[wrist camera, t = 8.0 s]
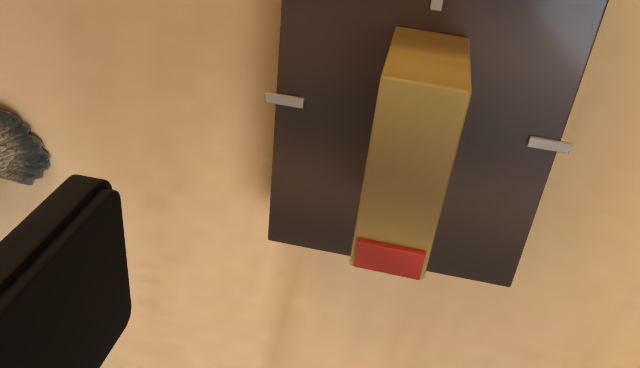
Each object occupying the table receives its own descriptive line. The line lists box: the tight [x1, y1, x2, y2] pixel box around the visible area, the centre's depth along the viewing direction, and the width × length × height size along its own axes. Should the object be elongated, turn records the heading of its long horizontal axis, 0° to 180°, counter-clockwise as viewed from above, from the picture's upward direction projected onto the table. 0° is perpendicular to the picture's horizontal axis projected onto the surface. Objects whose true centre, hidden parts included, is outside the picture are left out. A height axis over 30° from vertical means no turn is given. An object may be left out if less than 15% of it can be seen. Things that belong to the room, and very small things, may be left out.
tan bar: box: [350, 26, 472, 280], centre depth 19 cm, size 6×2×5 cm, turn 174°
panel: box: [265, 0, 609, 287], centre depth 23 cm, size 13×11×3 cm
